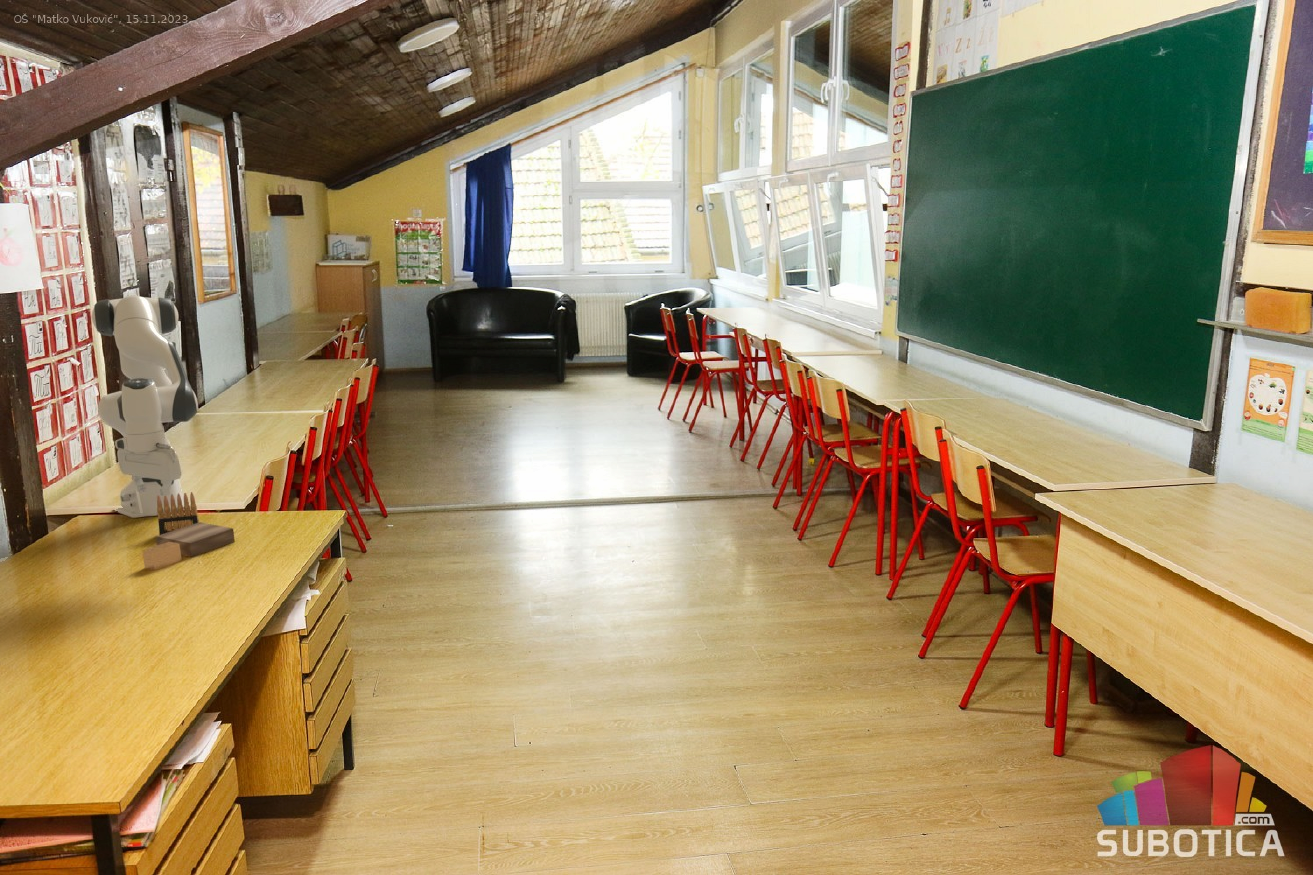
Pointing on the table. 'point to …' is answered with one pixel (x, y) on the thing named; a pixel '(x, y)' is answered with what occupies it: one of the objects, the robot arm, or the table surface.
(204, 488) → the table surface
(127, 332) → the robot arm
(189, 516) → the ammunition clip
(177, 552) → the light brown wooden block
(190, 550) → the walnut stand
